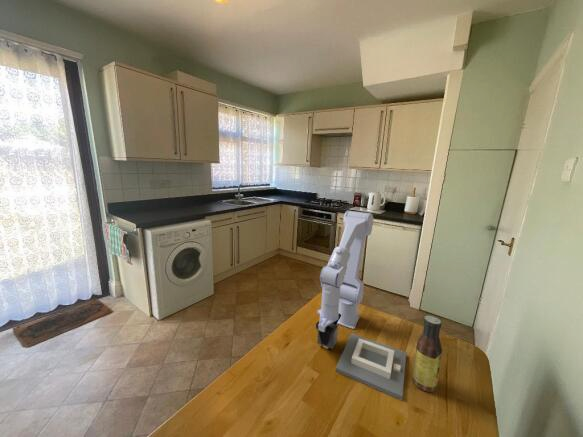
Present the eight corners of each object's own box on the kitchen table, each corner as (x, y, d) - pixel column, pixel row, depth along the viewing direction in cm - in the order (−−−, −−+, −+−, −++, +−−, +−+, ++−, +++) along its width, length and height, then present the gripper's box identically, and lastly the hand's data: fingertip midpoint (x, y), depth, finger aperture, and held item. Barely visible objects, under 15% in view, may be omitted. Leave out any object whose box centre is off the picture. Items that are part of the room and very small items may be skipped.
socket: (351, 336, 86) (352, 328, 85) (405, 355, 77) (407, 346, 77) (335, 371, 70) (336, 361, 69) (401, 400, 62) (403, 390, 61)
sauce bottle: (440, 395, 63) (452, 330, 60) (415, 390, 65) (425, 326, 61) (431, 375, 70) (441, 315, 66) (408, 371, 71) (417, 311, 67)
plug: (321, 338, 84) (323, 320, 82) (336, 344, 81) (338, 325, 80) (317, 346, 80) (318, 327, 79) (332, 352, 77) (334, 332, 76)
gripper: (326, 289, 86) (324, 323, 88) (310, 308, 73) (307, 347, 76) (345, 294, 82) (342, 329, 85) (331, 315, 70) (328, 355, 72)
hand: (327, 338), depth 80 cm, fingers open, 5 cm apart
